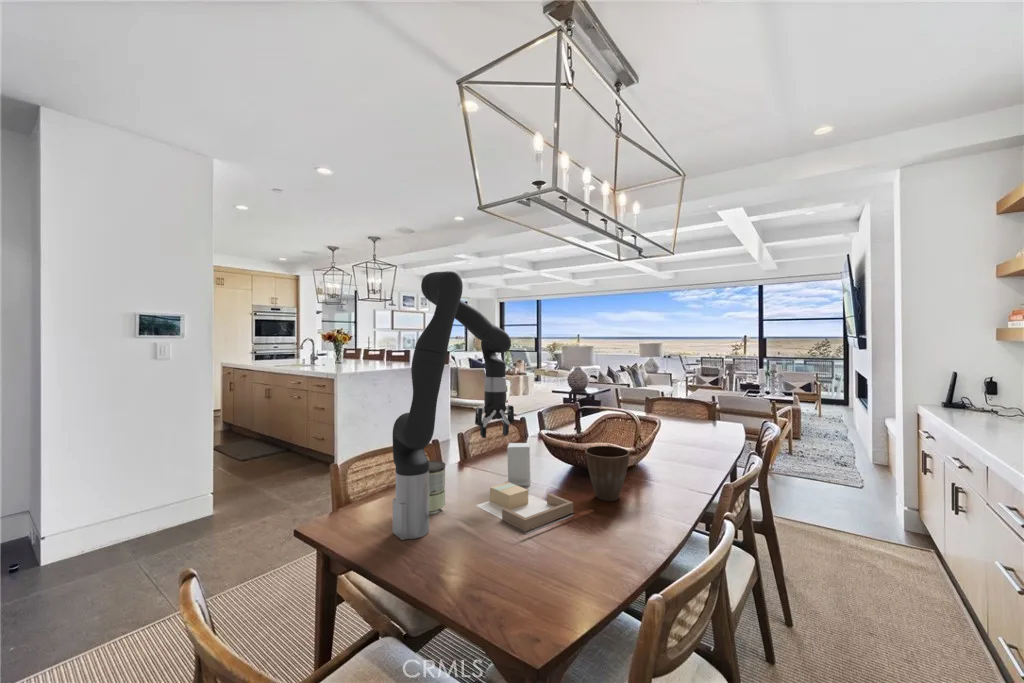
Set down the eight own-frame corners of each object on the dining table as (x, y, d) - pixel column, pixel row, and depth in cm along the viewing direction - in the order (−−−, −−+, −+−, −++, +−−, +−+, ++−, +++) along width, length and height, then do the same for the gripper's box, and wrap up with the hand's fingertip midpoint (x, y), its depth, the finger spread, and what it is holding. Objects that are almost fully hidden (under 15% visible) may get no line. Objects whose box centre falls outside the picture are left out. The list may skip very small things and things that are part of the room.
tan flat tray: (525, 535, 115) (525, 520, 115) (475, 509, 134) (475, 496, 134) (573, 516, 128) (573, 502, 128) (521, 494, 147) (521, 482, 147)
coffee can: (406, 510, 132) (406, 466, 133) (428, 500, 141) (428, 458, 141) (430, 517, 127) (430, 471, 127) (451, 506, 136) (452, 463, 136)
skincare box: (530, 483, 158) (530, 442, 158) (529, 489, 151) (529, 447, 152) (508, 483, 159) (508, 442, 159) (507, 489, 152) (507, 446, 152)
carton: (509, 510, 130) (509, 495, 130) (490, 500, 138) (490, 487, 138) (528, 503, 135) (528, 489, 135) (508, 495, 143) (508, 481, 143)
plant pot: (618, 509, 134) (618, 459, 134) (577, 498, 143) (577, 452, 143) (635, 495, 146) (635, 450, 146) (596, 486, 155) (596, 443, 155)
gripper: (482, 391, 138) (481, 440, 138) (518, 390, 145) (517, 436, 145) (472, 389, 144) (471, 436, 144) (507, 388, 152) (506, 432, 151)
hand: (494, 436), depth 144 cm, fingers open, 8 cm apart
